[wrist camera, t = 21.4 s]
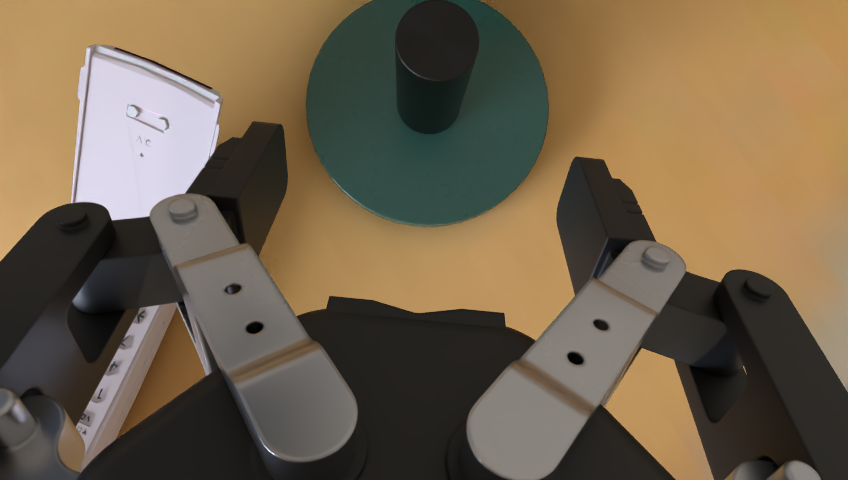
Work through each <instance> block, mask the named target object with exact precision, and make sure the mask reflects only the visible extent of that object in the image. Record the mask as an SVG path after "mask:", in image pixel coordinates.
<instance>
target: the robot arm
mask: <svg viewBox="0 0 848 480" xmlns="http://www.w3.org/2000/svg"><path fill="white" fill-rule="evenodd" d="M287 181H288V173H287V161H286V149H285V137H284V129H283V126H282V125H281V124H274V123H264V122H255V121H254V122H252V123H251V125H250V126H249V128H248V129H247V131H246V133H245V134H244V136H243V137H242V138H235V137H232V138H231V139H229V140H227V141H226V142H224V143H222V144H221V145H219V146H218V147H217V148H216V150H215V151H214V153H213V154H212V156H211V159H209V160H208V161H207V163H206V164H205V167H204V168H202V170H201V171H200V173H199V174H198V176H197V177H196V178H195V180H194V181H193V183H192V184H191V186H190V187H189V188H188V190H187V191H186V193H185V194H179V195H174V196H171V197H168V198H165V199H163V200H161V201H160V202H158V203H157V204H156V205H155V206H154V207H153V208H152V209H151V211H150V216H147V217H140V218H130V219H120V220H112V219H111V216H110V214H109V211H108V210H107V208H106V207H104V206H103V205H100V204H97V203H92V202H76V203H70V204H66V205H62V206H59V207H57V208H54V209H52V210H50V211H49V212H47V213H45V214H44V215H43V216H42V217H40V218H39V219H38V221H37V222H36V223H35V224H34V225H33V226H32V227H31V228H30V229H29V231H28V232H27V233H26V234H25V235H24V236H23V237H22V238H21V239H20V241H19V242H18V243H17V244H16V245H15V246H14V247H13V248H12V249H11V250H10V252H9V253H8V254H7V255H6V256H5V257H4V258H3V259H2V260H1V262H0V480H675V479H674V478H673V476H672V475H671V474H670V473H669V472H668V471H667V470H666V469H665V468H664V467H663V466H662V465H661V464H660V463H659V462H658V461H657V460H656V459H655V458H654V457H653V456H652V455H651V454H650V453H649V452H648V451H647V450H646V449H645V448H644V447H643V446H642V445H641V444H640V443H639V442H638V441H637V440H636V439H635V438H634V437H633V436H632V435H631V434H630V433H629V432H628V431H627V430H626V429H625V428H624V427H623V426H622V425H621V424H620V423H619V422H618V421H617V420H616V419H615V418H614V417H613V416H612V415H611V414H610V413H609V412H608V411H607V410H606V409H605V408H604V407H605V406H606V404H607V402H608V401H609V399H610V397H611V396H612V394H613V393H614V391H615V389H616V388H617V386H618V385H619V383H620V382H621V380H622V378H623V377H624V375H625V374H626V372H627V371H628V369H629V367H630V366H631V364H632V363H633V361H634V360H635V358H636V357H637V355H638V353H639V352H640V350H641V349H642V348H643V349H646V350H649V351H652V352H655V353H658V354H660V355H663V356H666V357H669V358H672V359H674V360H675V364H676V367H677V370H678V373H679V376H680V379H681V382H682V385H683V388H684V391H685V394H686V397H687V400H688V403H689V406H690V409H691V412H692V415H693V418H694V421H695V424H696V427H697V430H698V433H699V436H700V439H701V442H702V445H703V448H704V451H705V454H706V457H707V460H708V463H709V466H710V469H711V472H712V475H713V478H714V480H848V392H847V391H846V389H845V387H844V386H843V384H842V383H841V381H840V379H839V378H838V376H837V375H836V373H835V371H834V370H833V368H832V366H831V365H830V363H829V362H828V360H827V358H826V357H825V355H824V353H823V352H822V350H821V349H820V347H819V345H818V344H817V342H816V340H815V339H814V337H813V336H812V334H811V332H810V331H809V329H808V328H807V326H806V324H805V323H804V321H803V319H802V318H801V316H800V315H799V313H798V311H797V310H796V308H795V306H794V305H793V303H792V302H791V300H790V298H789V297H788V295H787V294H786V292H785V291H784V290H783V289H782V288H781V287H780V286H779V285H778V284H776V283H775V282H773V281H772V280H770V279H769V278H767V277H765V276H763V275H761V274H758V273H755V272H752V271H748V270H732V271H729V272H728V273H726V274H725V276H724V277H723V279H722V281H721V282H717V281H714V280H710V279H707V278H704V277H701V276H698V275H695V274H692V273H689V272H687V271H686V264H685V262H684V260H683V259H682V258H681V257H680V256H679V254H677V253H676V252H675V251H674V250H672V249H671V248H669V247H667V246H665V245H663V244H660V243H657V242H656V240H655V238H654V236H653V234H652V231H651V229H650V227H649V225H648V223H647V221H646V219H645V217H644V215H642V210H641V208H640V206H639V205H637V203H638V202H637V200H636V198H635V196H634V194H633V192H632V190H631V189H630V188H629V187H628V186H627V185H625V184H624V183H623V182H622V181H621V180H620V179H614V178H612V177H611V175H610V173H609V170H608V168H607V166H606V163H605V161H604V160H602V159H593V158H584V157H575V158H574V159H573V161H572V163H571V166H570V169H569V172H568V175H567V178H566V181H565V184H564V188H563V191H562V194H561V197H560V200H559V203H558V208H557V226H558V230H559V234H560V238H561V242H562V246H563V250H564V254H565V258H566V262H567V266H568V269H569V273H570V277H571V281H572V285H573V289H574V293H575V297H574V298H573V299H572V300H571V301H570V303H569V304H568V305H567V306H566V307H565V308H564V309H563V311H562V312H561V313H560V314H559V315H558V316H557V317H556V319H555V320H554V321H553V322H552V323H551V324H550V325H549V327H548V328H547V329H546V330H545V331H544V332H543V333H542V335H541V336H540V337H539V338H538V339H537V340H536V341H535V340H534V339H532V338H531V337H529V336H527V335H525V334H523V333H521V332H519V331H517V330H514V329H512V328H509V327H506V325H505V316H504V313H498V312H488V311H477V310H467V309H456V310H447V311H437V312H427V313H413V312H410V311H407V310H403V309H400V308H397V307H393V306H390V305H387V304H383V303H380V302H377V301H374V300H365V299H355V298H344V297H334V296H329V300H328V304H327V308H326V309H322V310H316V311H311V312H307V313H304V314H301V315H298V316H296V315H295V314H294V312H293V310H292V309H291V307H290V306H289V304H288V303H287V301H286V300H285V298H284V296H283V295H282V293H281V292H280V290H279V289H278V287H277V286H276V284H275V282H274V281H273V279H272V278H271V276H270V275H269V273H268V271H267V270H266V268H265V267H264V265H263V264H262V262H261V261H260V259H259V257H258V256H259V254H260V251H261V249H262V247H263V244H264V242H265V240H266V237H267V235H268V233H269V231H270V228H271V226H272V224H273V221H274V219H275V217H276V215H277V212H278V210H279V208H280V205H281V203H282V201H283V199H284V196H285V193H286V189H287ZM170 303H176V305H177V307H178V310H179V312H180V314H181V317H182V319H183V321H184V323H185V326H186V328H187V330H188V332H189V335H190V337H191V339H192V342H193V344H194V346H195V348H196V351H197V353H198V355H199V358H200V360H201V363H202V366H203V368H204V371H205V374H206V376H205V377H204V378H203V379H201V380H200V381H198V382H197V383H196V384H194V385H193V386H191V387H190V388H188V389H187V390H186V391H184V392H183V393H181V394H180V395H179V396H177V397H176V398H174V399H173V400H172V401H170V402H169V403H167V404H166V405H164V406H163V407H162V408H160V409H159V410H157V411H156V412H155V413H153V414H152V415H150V416H149V417H147V418H146V419H145V420H143V421H142V422H140V423H139V424H137V425H136V426H135V427H133V428H132V429H130V430H129V431H128V432H126V433H125V434H123V435H122V436H120V437H119V438H118V439H116V440H115V441H113V442H112V443H111V444H110V445H108V446H107V447H106V448H104V449H103V450H102V451H101V452H100V453H99V454H98V455H97V456H96V457H95V458H93V459H92V460H91V461H90V463H89V464H88V465H87V466H86V467H85V469H84V470H83V471H82V472H80V467H81V464H82V461H83V458H84V455H85V443H84V440H83V438H82V437H81V435H80V433H79V432H78V430H77V429H76V426H77V424H78V422H79V420H80V419H81V417H82V415H83V413H84V411H85V409H86V408H87V406H88V404H89V402H90V400H91V398H92V396H93V395H94V393H95V391H96V389H97V387H98V385H99V383H100V382H101V380H102V378H103V376H104V374H105V372H106V371H107V369H108V367H109V365H110V363H111V361H112V359H113V358H114V356H115V354H116V352H117V350H118V348H119V346H120V345H121V343H122V341H123V339H124V337H125V335H126V334H127V332H128V330H129V328H130V326H131V324H132V322H133V321H134V319H135V317H136V315H137V313H138V311H139V309H140V308H142V307H149V306H156V305H163V304H170ZM743 365H744V367H745V370H746V373H747V375H746V373H745V371H744V369H743Z"/></svg>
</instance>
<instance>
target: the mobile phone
mask: <svg viewBox="0 0 848 480" xmlns="http://www.w3.org/2000/svg"><path fill="white" fill-rule="evenodd" d="M78 99H80V106H79V116H78V128H77V139H76V150H75V161H74V172H73V183H72V194H71V203H76V202H92V203H97V204H100V205H103V206H104V207H106V208H107V210H108V211H109V214H110V216H111V219H112V220H120V219H130V218H140V217H147V216H150V211H151V209H152V208H153V207H154V206H155V205H156V204H157V203H158V202H160V201H161V200H163V199H165V198H168V197H171V196H174V195H179V194H185V193H186V191H187V190H188V188H189V187H190V186H191V184H192V183H193V181H194V180H195V178H196V177H197V176H198V174H199V173H200V171H201V170H202V168H204V167H205V164H206V163H207V161H208V160H209V159H211V156H212V154H213V153H214V151H215V149H216V145H217V140H218V136H219V131H220V126H219V125H218V121H219V116H220V111H221V107H222V102H223V98H222V97H221V95H220V94H219V92H217V91H216V90H214V89H213V88H211V87H209V86H207V85H205V84H202V83H200V82H198V81H196V80H194V79H192V78H190V77H187V76H185V75H183V74H181V73H179V72H177V71H174V70H172V69H170V68H168V67H166V66H164V65H161V64H159V63H157V62H155V61H153V60H150V59H147V58H144V57H141V56H139V55H136V54H133V53H130V52H128V51H125V50H122V49H119V48H117V47H113V46H108V45H95V44H94V45H92V46H89V47H87V51H86V59H85V66H84V67H82V68H81V71H80V79H79V87H78ZM75 197H76V199H75ZM176 308H177V305H176V303H170V304H163V305H156V306H149V307H142V308H140V309H139V311H138V313H137V315H136V317H135V319H134V321H133V322H132V324H131V326H130V328H129V330H128V332H127V334H126V335H125V337H124V339H123V341H122V343H121V345H120V346H119V348H118V350H117V352H116V354H115V356H114V358H113V359H112V361H111V363H110V365H109V367H108V369H107V371H106V372H105V374H104V376H103V378H102V380H101V382H100V383H99V385H98V387H97V389H96V391H95V393H94V395H93V396H92V398H91V400H90V402H89V404H88V406H87V408H86V409H85V411H84V413H83V415H82V417H81V419H80V420H79V422H78V424H77V426H76V429H77V430H78V432H79V433H80V435H81V437H82V438H83V440H84V443H85V455H84V458H83V461H82V464H81V467H80V472H82V471H83V470H84V469H85V467H86V466H87V465H88V464H89V463H90V461H91V460H92V459H93V458H95V457H96V456H97V455H98V454H99V453H100V452H101V451H102V450H103V449H104V448H106V447H107V446H108V445H110V444H111V443H112V442H113V441H115V440H116V438H117V435H118V433H119V431H120V429H121V427H122V425H123V423H124V421H125V419H126V417H127V415H128V413H129V411H130V409H131V407H132V405H133V403H134V401H135V398H136V396H137V394H138V392H139V390H140V388H141V385H142V383H143V381H144V379H145V377H146V374H147V372H148V370H149V368H150V366H151V363H152V361H153V359H154V357H155V355H156V352H157V350H158V348H159V346H160V344H161V341H162V339H163V337H164V335H165V333H166V330H167V328H168V326H169V324H170V322H171V319H172V317H173V315H174V313H175V311H176Z"/></svg>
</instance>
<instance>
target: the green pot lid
mask: <svg viewBox="0 0 848 480" xmlns="http://www.w3.org/2000/svg"><path fill="white" fill-rule="evenodd" d="M548 108H549V103H548V94H547V87H546V83H545V79H544V74H543V72H542V69H541V67H540V64H539V61H538V59H537V57H536V55H535V53H534V52H533V50H532V48H531V46H530V45H529V43H528V42H527V41H526V39H525V38H524V36H523V35H522V34H521V33H520V31H519V30H518V29H517V28H516V27H515V26H514V25H513V24H512V23H511V22H510V21H509V20H508V19H506V18H505V17H504V16H503V15H502V14H500V13H499V12H498V11H496V10H494V9H493V8H491V7H490V6H488V5H487V4H485V3H483V2H480V1H478V0H373V1H371V2H369V3H367V4H365V5H364V6H362V7H361V8H359V9H357V10H356V11H354V12H353V13H352V14H351V15H349V16H348V17H347V18H346V19H345V20H343V21H342V22H341V23H340V24H339V25H338V27H337V28H336V29H335V30H334V31H333V32H332V33H331V34H330V36H329V37H328V39H327V40H326V42H325V43H324V44H323V46H322V48H321V50H320V52H319V54H318V56H317V57H316V59H315V62H314V65H313V68H312V71H311V73H310V78H309V83H308V87H307V97H306V113H307V123H308V128H309V133H310V137H311V140H312V143H313V146H314V149H315V151H316V153H317V155H318V157H319V159H320V161H321V163H322V165H323V166H324V168H325V169H326V171H327V172H328V174H329V175H330V177H331V178H332V180H333V181H334V182H335V183H336V185H337V186H338V187H339V188H340V189H341V190H342V191H343V192H344V193H345V194H346V195H347V196H348V197H349V198H351V199H352V200H353V201H354V202H355V203H357V204H358V205H360V206H361V207H363V208H364V209H366V210H367V211H369V212H371V213H373V214H375V215H377V216H379V217H381V218H384V219H387V220H390V221H393V222H396V223H399V224H405V225H410V226H419V227H437V226H447V225H452V224H457V223H461V222H464V221H467V220H470V219H472V218H475V217H477V216H479V215H481V214H483V213H485V212H487V211H489V210H490V209H492V208H493V207H495V206H496V205H498V204H499V203H501V202H502V201H503V200H504V199H505V198H507V197H508V196H509V195H510V194H511V193H512V192H513V191H514V190H515V189H516V188H517V187H518V186H519V185H520V184H521V182H522V181H523V180H524V179H525V178H526V177H527V175H528V173H529V172H530V170H531V169H532V167H533V166H534V164H535V162H536V160H537V158H538V155H539V153H540V151H541V148H542V145H543V142H544V139H545V135H546V130H547V124H548Z"/></svg>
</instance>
